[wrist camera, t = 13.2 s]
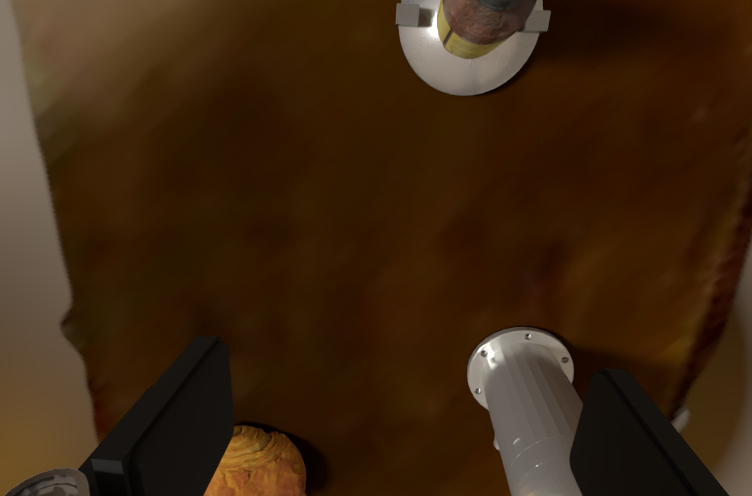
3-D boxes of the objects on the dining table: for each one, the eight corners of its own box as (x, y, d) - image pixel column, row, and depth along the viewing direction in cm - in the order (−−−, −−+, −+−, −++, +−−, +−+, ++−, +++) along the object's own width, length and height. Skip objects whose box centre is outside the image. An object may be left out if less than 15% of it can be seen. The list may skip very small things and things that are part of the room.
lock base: (527, 99, 42) (535, 99, 39) (392, 91, 42) (391, 91, 40) (553, -57, 37) (564, -68, 35) (401, -64, 38) (401, -75, 35)
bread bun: (221, 483, 66) (196, 539, 59) (205, 413, 58) (175, 467, 51) (314, 494, 65) (300, 553, 58) (310, 424, 57) (294, 481, 50)
